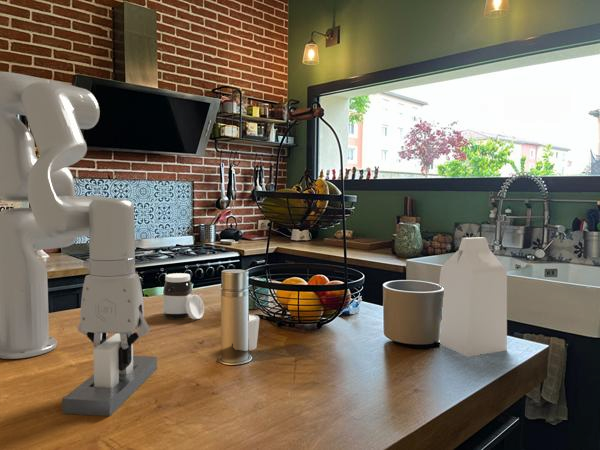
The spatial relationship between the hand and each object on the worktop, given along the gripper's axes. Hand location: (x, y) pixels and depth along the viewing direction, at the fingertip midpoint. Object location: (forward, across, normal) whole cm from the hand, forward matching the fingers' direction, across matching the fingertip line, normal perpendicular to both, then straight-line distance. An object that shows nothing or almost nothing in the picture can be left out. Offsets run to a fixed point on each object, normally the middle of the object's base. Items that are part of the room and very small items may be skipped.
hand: (114, 366), depth 87 cm
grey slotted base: (+4, 0, 0) cm, 4 cm away
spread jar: (+5, -3, +48) cm, 48 cm away
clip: (+3, 0, 0) cm, 3 cm away
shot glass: (+4, +19, +25) cm, 32 cm away
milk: (+4, +72, +33) cm, 79 cm away
